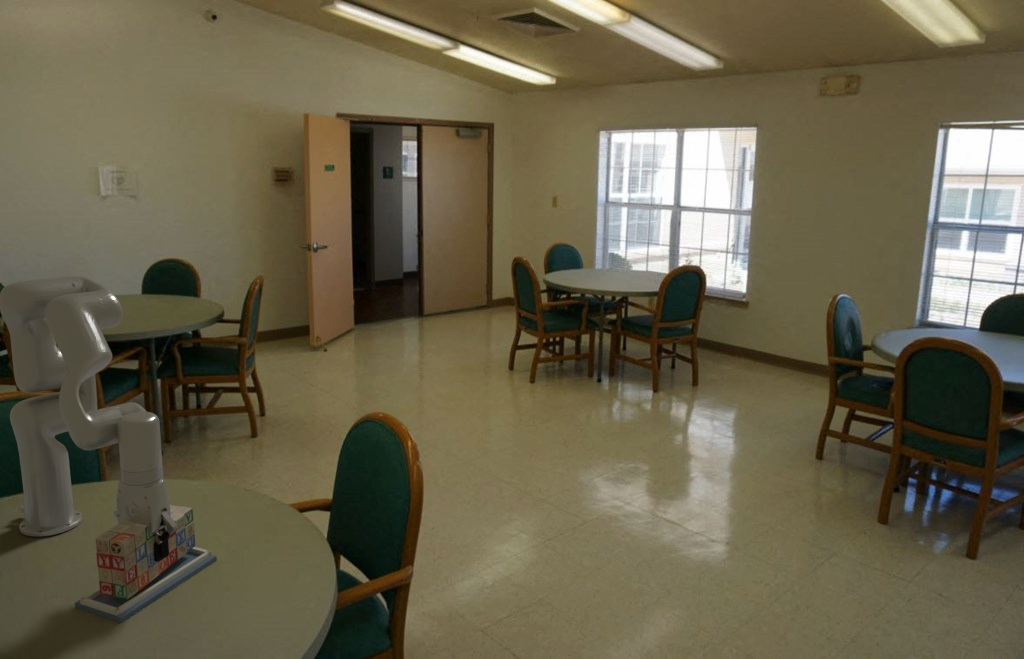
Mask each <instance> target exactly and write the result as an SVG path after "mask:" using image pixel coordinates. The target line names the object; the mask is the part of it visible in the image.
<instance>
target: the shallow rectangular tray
mask: <svg viewBox="0 0 1024 659" xmlns="http://www.w3.org/2000/svg"><path fill="white" fill-rule="evenodd" d="M216 561H217V556H216V555H213V554H212V550H207V549H204V548H200V547H196V546H195V547H193V548H192V549H191V550H190V551H188V552H187V553H186V554H184V555H183V556H182V557H181V558H179V559H178V560H176V561H175V562H174V563H173V564H171V565H170V566H169V567H168V568H167V569H165V570H164V571H163V572H162V573H161V574H159V575H158V576H157V577H156V578H155V579H153V580H152V581H151V582H149V583H148V584H147V585H146V586H144V587H143V588H142V589H141V590H139V591H138V592H136V593H135V594H134V595H133V596H131V597H130V598H129V599H123V598H117V597H111V596H105V595H101V594H100V587H98V588H96V589H95V590H93V591H91V592H90V593H88V594H86V595H84V596H82V597H81V598H79V600H77V601H75V602H74V607H75V608H76V609H79V610H82V611H85V612H88V613H91V614H94V615H97V616H100V617H104V618H106V619H109V620H112V621H114V622H118V623H124V622H125V621H126V620H128V619H129V618H130V619H131V617H132V616H134V615H136V614H138V612H140V611H142V610H144V609H145V608H147V607H148V606H149V605H151V604H152V603H154V602H155V601H157V600H159V599H160V598H161V597H163V596H165V595H166V594H167V593H169V592H170V591H172V590H174V589H175V588H176V587H178V586H180V585H181V584H182V583H184V582H186V581H187V580H189V579H190V578H192V577H194V576H196V574H198V573H200V572H201V571H203V570H204V569H206V568H207V567H208V566H210V565H212V564H213V563H215V562H216Z"/></svg>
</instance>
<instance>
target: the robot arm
mask: <svg viewBox="0 0 1024 659" xmlns="http://www.w3.org/2000/svg"><path fill="white" fill-rule="evenodd" d="M123 313H124V311H123V308H122V304H121V303H120V301H119V299H118V297H117V296H116V295H115V293H113V292H112V291H111V290H110V289H108V288H106V287H105V286H103V285H101V284H99V283H98V282H96V281H94V280H93V279H91V278H88V277H86V276H80V275H79V276H76V275H75V276H64V277H52V278H51V277H50V278H37V279H30V280H22V281H16V282H12V283H10V284H8V285H6V286H4V287H3V288H2V290H1V291H0V314H1V317H2V319H3V321H4V323H5V325H6V328H7V330H8V333H9V336H10V345H11V355H12V357H11V358H12V367H13V368H12V369H13V376H14V380H15V384H16V386H17V388H18V389H19V391H21V392H23V393H28V394H30V393H31V394H33V393H41V392H47V391H51V390H56V389H60V390H59V391H56V392H53V393H46V394H42V395H37V396H32V397H30V398H29V397H28V398H26V399H24V400H21V401H19V402H17V403H16V404H15V405H13V406H12V408H11V410H10V414H9V421H10V424H11V426H12V427H11V428H12V430H13V434H14V436H15V440H16V443H17V449H18V455H19V465H20V471H21V480H22V490H23V498H24V499H23V500H24V503H23V505H20V506H19V507H18V512H20V513H24V514H23V515H24V519H23V520H22V521H21V522H20V523H19V527H18V528H19V532H20V534H22V535H24V536H27V537H35V538H36V537H37V538H38V537H40V538H42V537H49V536H54V535H58V534H61V533H65V532H67V531H69V530H72V529H74V528H75V527H77V526H78V525H79V524H80V523H81V522H82V520H83V515H82V512H81V511H79V510H77V509H75V508H74V501H73V499H74V498H73V490H72V479H71V468H70V458H69V452H68V450H67V448H66V446H65V445H64V444H63V443H61V442H60V441H58V440H57V439H56V437H55V436H57V435H59V434H63V433H67V432H68V434H69V436H70V438H71V440H72V442H73V443H74V444H75V446H77V447H78V448H79V449H81V450H83V451H94V450H97V449H101V448H104V447H108V446H111V445H115V444H118V451H119V453H118V454H119V470H120V478H119V480H118V485H117V491H116V510H115V511H114V512H113V515H114V517H115V518H116V521H117V523H118V524H119V523H120V522H122V521H123V520H128V521H131V522H135V523H138V524H142V525H146V526H148V533H150V534H151V533H153V537H154V539H155V541H156V543H155V544H154V557H155V561H156V562H159V561H160V560H162V559H164V558H165V557H167V556H168V555H169V544H168V539H169V538H171V536H172V535H173V534H174V532H175V531H176V530H177V529H178V525H177V524H176V523H175V522H174V520H173V519H172V518H171V513H170V505H171V504H170V503H171V502H170V497H169V493H168V489H167V484H166V481H165V479H164V471H163V470H164V469H163V468H164V467H163V457H162V439H161V437H162V436H161V424H160V418H159V416H158V415H157V414H155V413H154V412H150V411H147V410H146V409H145V408H144V407H143V406H142V405H140V404H139V403H136V402H133V401H132V402H131V401H129V402H126V403H121V404H117V405H113V406H107V407H103V408H99V409H98V397H97V396H98V395H97V382H96V374H97V373H99V372H100V371H102V370H104V369H105V368H106V367H107V366H108V365H109V364H110V363H111V362H112V360H113V353H112V350H111V348H110V346H109V344H108V342H107V340H106V338H105V335H104V333H103V331H102V330H107V329H113V328H116V327H118V326H119V325H120V324H121V323H122V321H123V316H124V314H123ZM160 523H161V524H160ZM160 529H161V530H162V533H163V534H162V535H161V536H160V534H159V532H158V530H160Z"/></svg>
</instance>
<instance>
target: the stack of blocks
mask: <svg viewBox="0 0 1024 659" xmlns="http://www.w3.org/2000/svg"><path fill="white" fill-rule="evenodd" d="M170 513H171V518H172V519H173V520H174V522H175V523H176V524H177V525H178V529H177V530H176V531H175V532H174V534H173V535H172V536H171V538H169V539H168V544H169V555H168V556H167V557H165V558H164V559H162V560H160V561H159V562H156V561H155V557H154V544H155V543H156V541H155V539H154V537H153V533H151V534H150V533H148V526H146V525H142V524H138V523H135V522H131V521H128V520H123V521H122V522H120V523H118V524H115V525H114V526H113V527H111V528H110V529H109V530H107V531H104V532H103V533H102V534H100V535H98V536H97V537H96V538H95V546H96V563H97V565H96V566H97V571H98V579H99V580H98V582H99V588H100V594H101V595H105V596H111V597H117V598H123V599H129V598H130V597H131V596H133V595H134V594H135V593H136V592H138V591H139V590H141V589H142V588H143V587H144V586H146V585H147V584H148V583H149V582H151V581H152V580H153V579H155V578H156V577H157V576H158V575H159V574H161V573H162V572H163V571H164V570H165V569H167V568H168V567H169V566H170V565H171V564H173V563H174V562H175V561H176V560H178V559H179V558H181V557H182V556H183V555H184V554H186V553H187V552H188V551H190V550H191V549H192V548H193V547H196V537H195V535H196V533H195V532H196V531H195V530H196V529H195V521H194V508H193V507H188V506H181V505H180V506H178V505H173V504H170ZM160 524H161V523H160ZM158 532H159V534H160V536H161V535H162V534H163V533H162V530H161V529H160V530H158Z"/></svg>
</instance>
